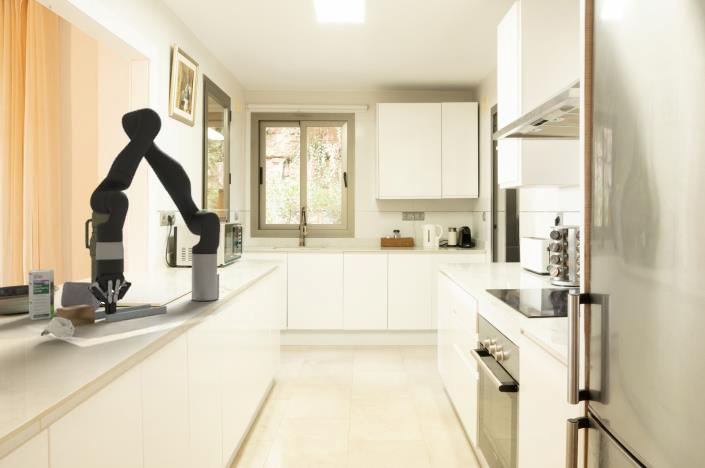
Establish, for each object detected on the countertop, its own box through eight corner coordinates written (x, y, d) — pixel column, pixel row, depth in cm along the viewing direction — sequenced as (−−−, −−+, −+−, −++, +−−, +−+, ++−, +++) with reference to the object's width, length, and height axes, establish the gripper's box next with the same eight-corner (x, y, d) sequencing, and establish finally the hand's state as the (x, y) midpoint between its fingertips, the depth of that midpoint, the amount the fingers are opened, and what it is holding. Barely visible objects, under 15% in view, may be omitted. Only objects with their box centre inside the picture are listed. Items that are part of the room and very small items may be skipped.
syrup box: (31, 320, 142) (31, 271, 142) (28, 318, 146) (28, 269, 146) (54, 318, 146) (54, 270, 145) (50, 315, 150) (50, 268, 150)
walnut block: (84, 321, 142) (84, 304, 142) (94, 323, 139) (94, 306, 139) (56, 326, 135) (56, 308, 135) (66, 328, 132) (66, 310, 132)
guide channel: (148, 309, 162) (148, 303, 162) (166, 312, 157) (166, 306, 157) (89, 319, 145) (89, 312, 145) (107, 322, 140) (107, 315, 140)
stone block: (103, 311, 158) (103, 281, 158) (94, 314, 153) (94, 282, 153) (69, 311, 159) (69, 280, 159) (58, 313, 154) (58, 282, 154)
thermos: (120, 306, 170) (120, 205, 169) (82, 307, 166) (82, 205, 166) (124, 302, 178) (124, 206, 178) (88, 303, 174) (88, 206, 174)
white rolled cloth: (53, 333, 126) (53, 314, 126) (80, 332, 127) (81, 314, 126) (36, 340, 118) (36, 320, 118) (65, 339, 119) (65, 320, 119)
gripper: (123, 255, 153) (123, 310, 153) (81, 258, 142) (81, 317, 142) (137, 256, 149) (138, 312, 149) (95, 259, 138) (96, 320, 138)
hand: (110, 315), depth 146 cm, fingers closed
